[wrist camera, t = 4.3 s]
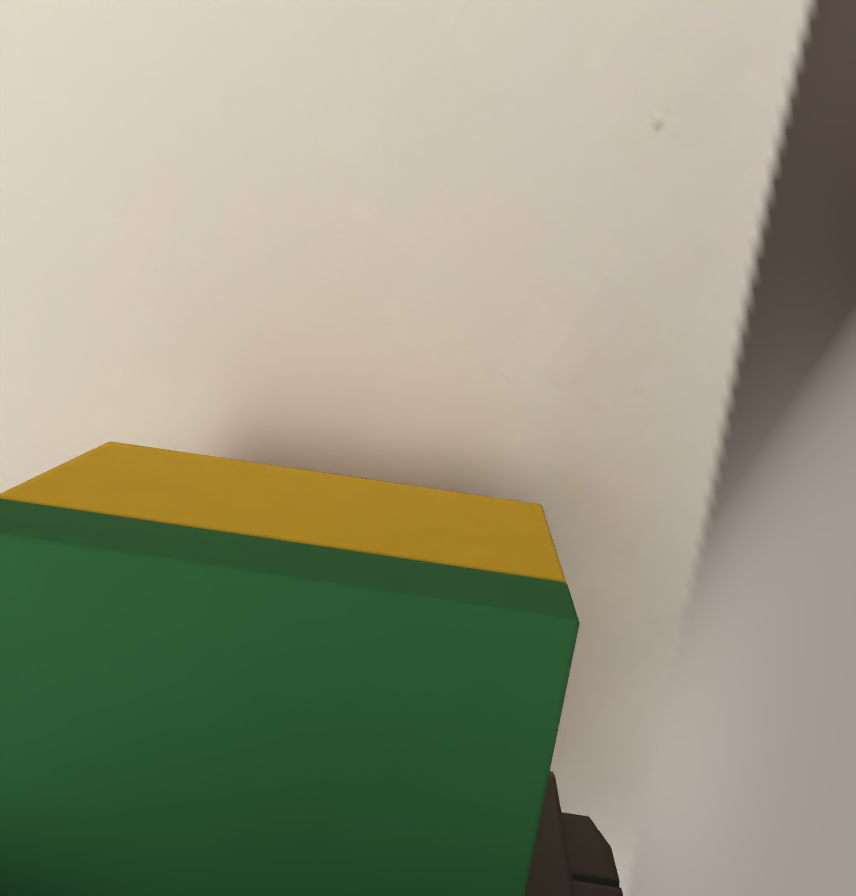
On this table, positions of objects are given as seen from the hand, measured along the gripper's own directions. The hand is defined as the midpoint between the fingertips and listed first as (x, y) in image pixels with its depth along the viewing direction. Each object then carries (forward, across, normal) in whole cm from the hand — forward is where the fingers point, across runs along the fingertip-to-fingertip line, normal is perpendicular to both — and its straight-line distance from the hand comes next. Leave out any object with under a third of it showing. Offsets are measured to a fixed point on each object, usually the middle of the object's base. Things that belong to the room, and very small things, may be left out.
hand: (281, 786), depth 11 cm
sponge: (+1, 0, 0) cm, 1 cm away
